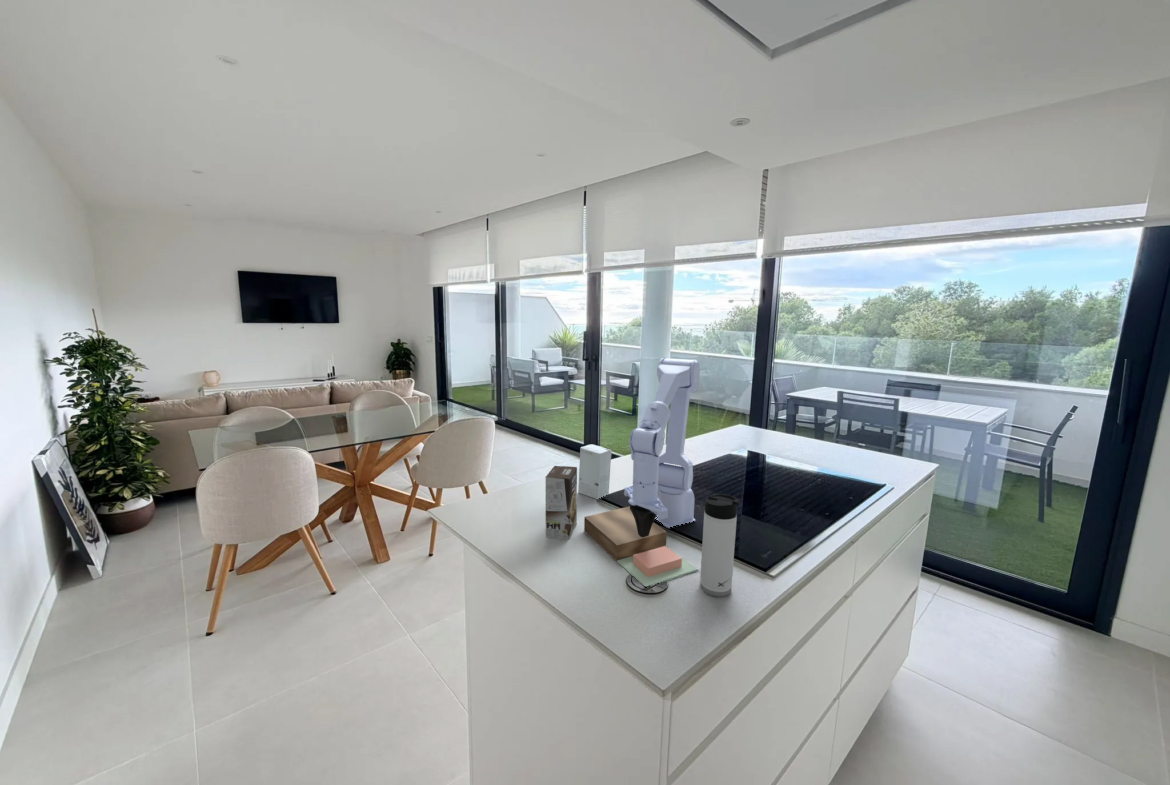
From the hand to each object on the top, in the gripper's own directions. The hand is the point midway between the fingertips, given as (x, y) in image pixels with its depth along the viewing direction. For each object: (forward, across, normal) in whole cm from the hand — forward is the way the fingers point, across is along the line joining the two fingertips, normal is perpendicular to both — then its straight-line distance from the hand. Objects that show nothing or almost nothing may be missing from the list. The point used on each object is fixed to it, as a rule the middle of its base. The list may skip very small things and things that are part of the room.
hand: (643, 535), depth 106 cm
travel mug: (+5, +18, +6) cm, 19 cm away
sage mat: (+5, +6, 0) cm, 7 cm away
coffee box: (+5, -19, -12) cm, 23 cm away
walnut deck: (+5, -8, 0) cm, 10 cm away
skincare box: (+5, -36, +7) cm, 37 cm away
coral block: (+2, +6, 0) cm, 6 cm away
